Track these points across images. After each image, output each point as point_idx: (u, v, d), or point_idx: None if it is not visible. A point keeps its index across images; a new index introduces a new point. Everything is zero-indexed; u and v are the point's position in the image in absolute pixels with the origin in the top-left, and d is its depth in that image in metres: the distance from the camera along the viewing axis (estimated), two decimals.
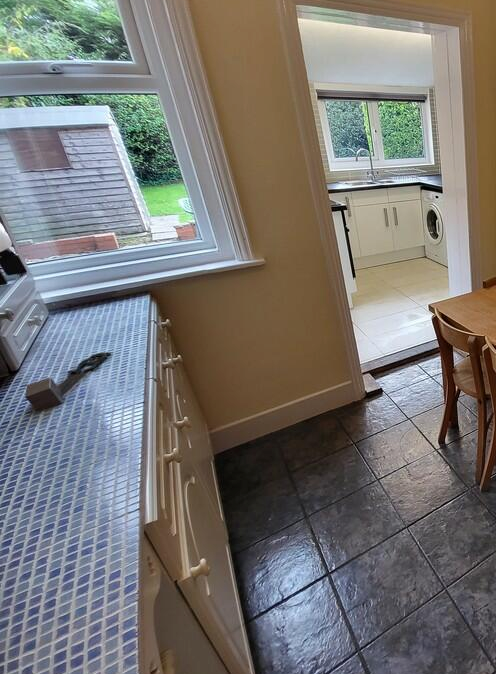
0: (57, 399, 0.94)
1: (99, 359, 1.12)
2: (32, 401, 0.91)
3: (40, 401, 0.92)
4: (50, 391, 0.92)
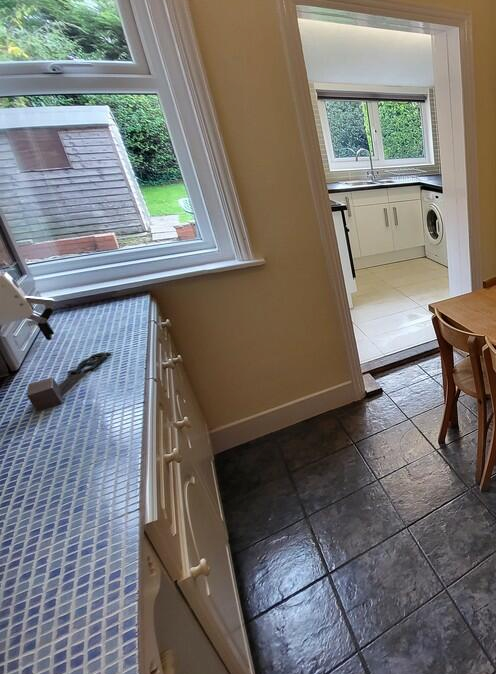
0: (58, 399, 0.94)
1: (99, 359, 1.12)
2: (33, 400, 0.91)
3: (41, 400, 0.92)
4: (52, 391, 0.93)
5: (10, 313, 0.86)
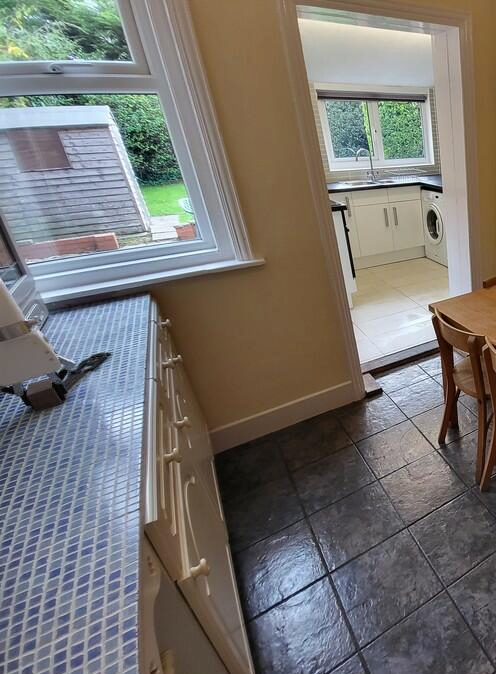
0: (58, 399, 0.94)
1: (99, 359, 1.12)
2: (33, 400, 0.91)
3: (41, 400, 0.92)
4: (52, 391, 0.93)
5: (41, 368, 0.91)
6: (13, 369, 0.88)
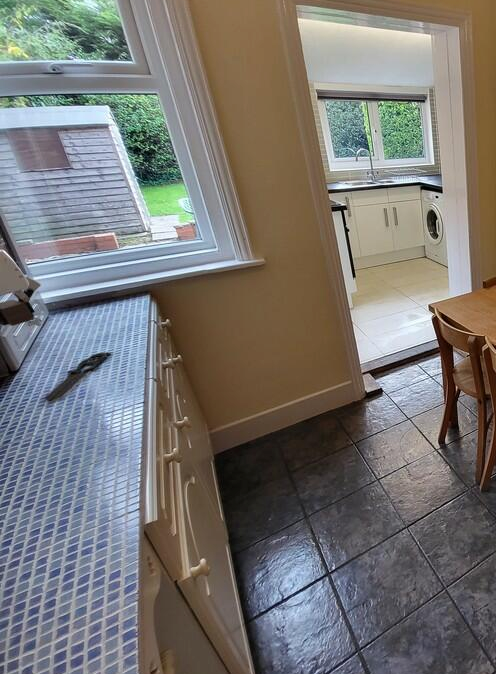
0: (30, 314, 1.02)
1: (99, 359, 1.12)
2: (7, 314, 0.99)
3: (15, 314, 1.00)
4: (25, 306, 1.01)
5: (11, 284, 0.99)
6: None
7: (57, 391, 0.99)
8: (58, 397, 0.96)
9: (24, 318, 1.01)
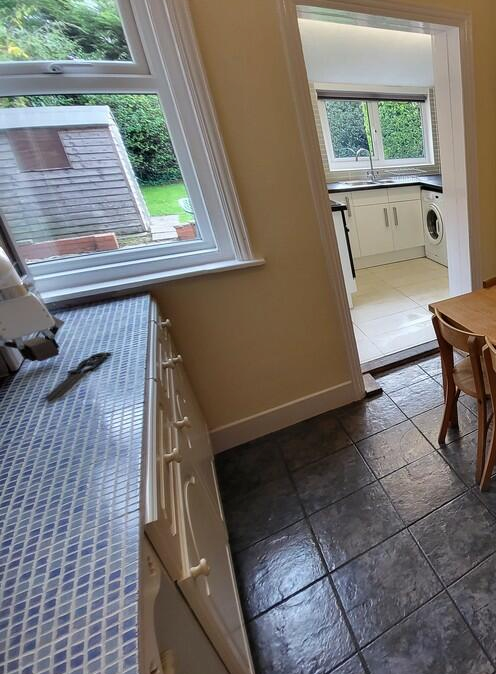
0: (56, 350, 1.12)
1: (99, 359, 1.12)
2: (36, 351, 1.08)
3: (42, 351, 1.09)
4: (51, 343, 1.11)
5: (39, 323, 1.09)
6: (17, 324, 1.05)
7: (57, 391, 0.99)
8: (58, 397, 0.96)
9: (50, 354, 1.11)
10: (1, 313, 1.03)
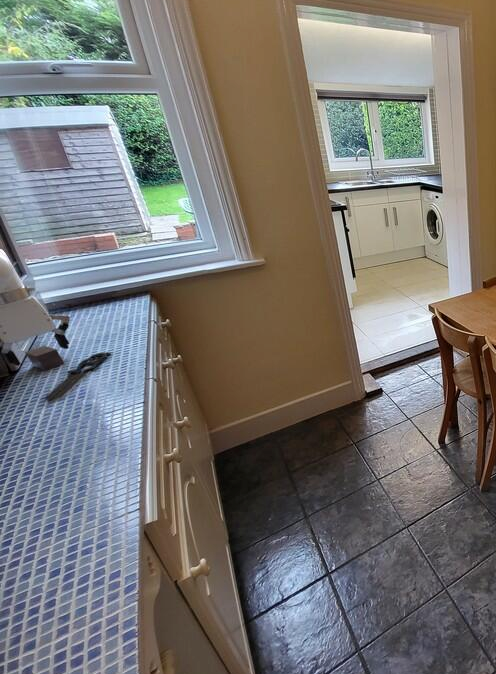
0: (61, 359, 1.13)
1: (99, 359, 1.12)
2: (41, 360, 1.09)
3: (48, 360, 1.11)
4: (56, 352, 1.12)
5: (40, 327, 1.09)
6: (18, 327, 1.05)
7: (57, 391, 0.99)
8: (58, 397, 0.96)
9: (56, 363, 1.12)
10: (3, 316, 1.03)
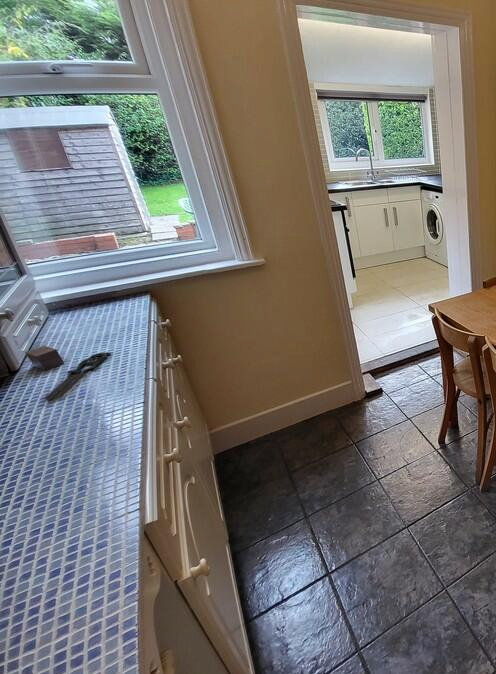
0: (61, 359, 1.13)
1: (99, 359, 1.12)
2: (41, 360, 1.09)
3: (48, 360, 1.11)
4: (56, 352, 1.12)
5: None
6: None
7: (57, 391, 0.99)
8: (58, 397, 0.96)
9: (56, 363, 1.12)
10: None
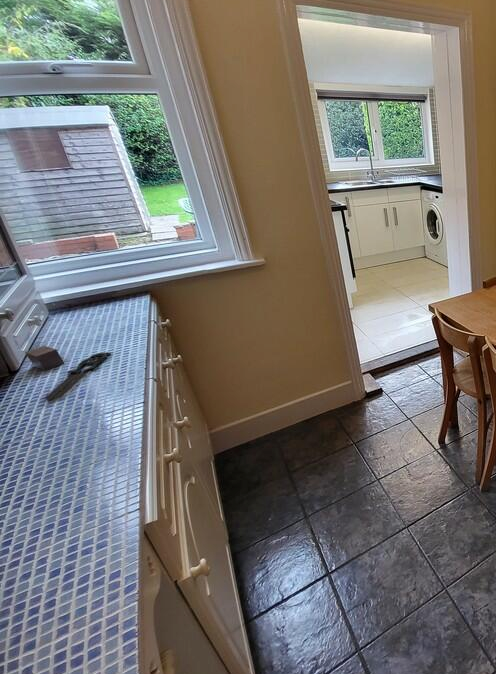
0: (61, 359, 1.13)
1: (99, 359, 1.12)
2: (41, 360, 1.09)
3: (48, 360, 1.11)
4: (56, 352, 1.12)
5: None
6: None
7: (57, 391, 0.99)
8: (58, 397, 0.96)
9: (56, 363, 1.12)
10: None
